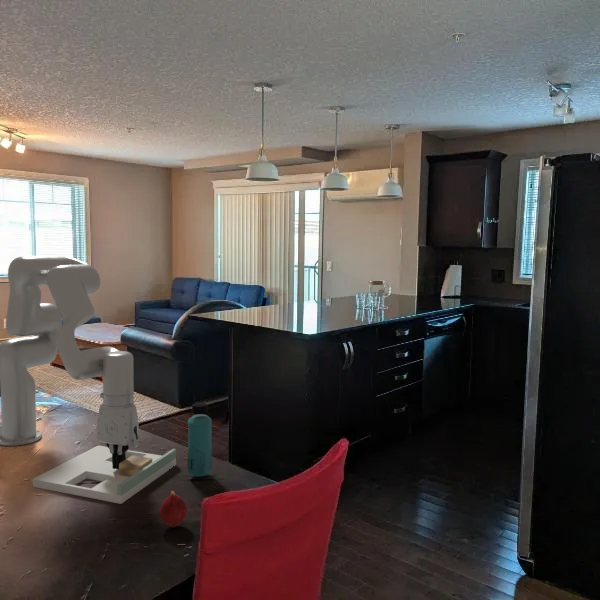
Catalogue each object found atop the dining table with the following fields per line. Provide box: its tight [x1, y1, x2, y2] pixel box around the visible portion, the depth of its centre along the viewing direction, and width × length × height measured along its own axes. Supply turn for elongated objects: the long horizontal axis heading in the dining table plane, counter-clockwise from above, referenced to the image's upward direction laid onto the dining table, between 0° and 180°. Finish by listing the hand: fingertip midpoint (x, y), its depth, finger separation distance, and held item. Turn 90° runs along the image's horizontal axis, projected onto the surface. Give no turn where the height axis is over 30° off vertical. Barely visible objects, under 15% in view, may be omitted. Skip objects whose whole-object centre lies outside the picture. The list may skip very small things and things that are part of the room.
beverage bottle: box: [186, 402, 213, 477], centre depth 145 cm, size 6×7×20 cm
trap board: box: [32, 445, 177, 504], centre depth 145 cm, size 26×25×4 cm
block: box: [119, 455, 152, 477], centre depth 143 cm, size 6×6×3 cm
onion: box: [159, 490, 188, 528], centre depth 120 cm, size 6×6×8 cm
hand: (118, 467), depth 144 cm, fingers closed
